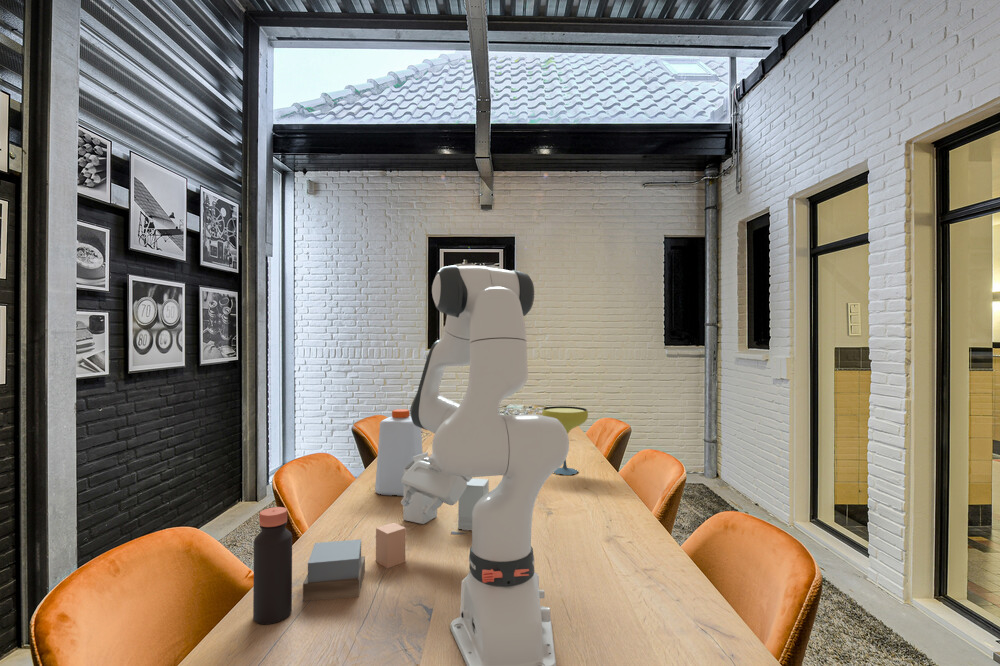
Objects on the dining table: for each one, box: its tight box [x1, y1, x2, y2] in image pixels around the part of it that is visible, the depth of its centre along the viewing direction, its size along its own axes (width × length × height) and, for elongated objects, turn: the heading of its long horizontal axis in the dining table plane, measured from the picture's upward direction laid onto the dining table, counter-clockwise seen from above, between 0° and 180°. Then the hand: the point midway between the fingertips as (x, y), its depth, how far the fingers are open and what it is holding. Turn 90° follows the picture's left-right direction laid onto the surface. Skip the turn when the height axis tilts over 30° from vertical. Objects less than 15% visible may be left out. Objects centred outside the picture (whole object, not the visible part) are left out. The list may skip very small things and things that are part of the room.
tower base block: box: [302, 555, 366, 602], centre depth 106 cm, size 11×11×4 cm
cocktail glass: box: [541, 405, 589, 476], centre depth 197 cm, size 18×18×25 cm
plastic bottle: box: [374, 408, 424, 497], centre depth 173 cm, size 15×15×28 cm
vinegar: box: [252, 506, 293, 625], centre depth 95 cm, size 7×7×20 cm
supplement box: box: [457, 477, 490, 531], centre depth 140 cm, size 7×7×13 cm
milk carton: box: [402, 451, 438, 525], centre depth 146 cm, size 7×7×19 cm
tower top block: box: [307, 538, 362, 583], centre depth 107 cm, size 10×10×4 cm
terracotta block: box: [375, 522, 407, 569], centre depth 118 cm, size 5×5×8 cm
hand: (414, 509), depth 123 cm, fingers open, 8 cm apart
